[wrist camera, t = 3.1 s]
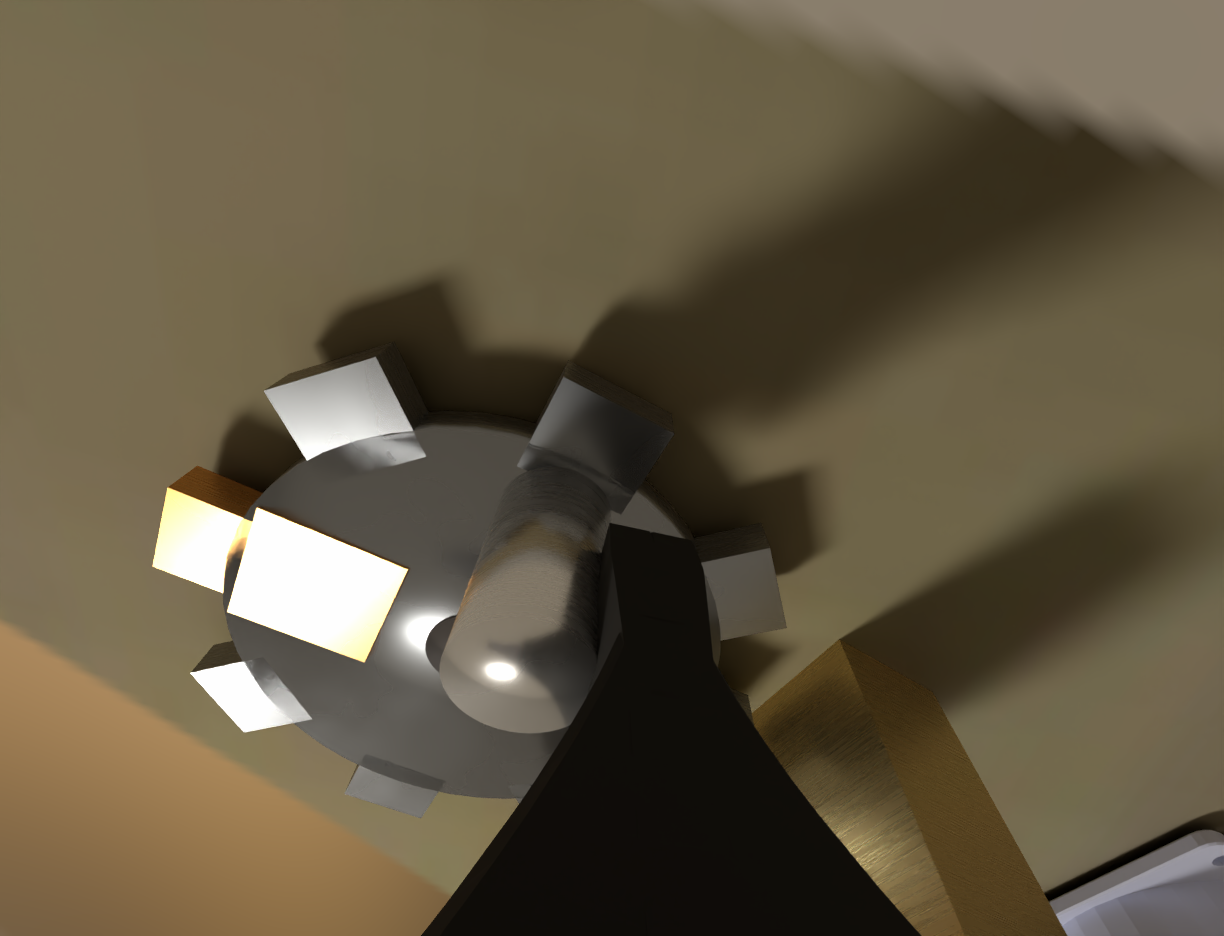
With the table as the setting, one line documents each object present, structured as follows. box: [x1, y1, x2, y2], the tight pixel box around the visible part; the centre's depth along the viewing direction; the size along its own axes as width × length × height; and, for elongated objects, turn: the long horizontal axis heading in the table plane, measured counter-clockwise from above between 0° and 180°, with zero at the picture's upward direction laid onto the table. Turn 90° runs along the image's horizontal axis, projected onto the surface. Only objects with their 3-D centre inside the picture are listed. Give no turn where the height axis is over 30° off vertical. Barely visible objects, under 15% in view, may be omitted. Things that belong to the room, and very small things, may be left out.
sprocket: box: [153, 342, 787, 818], centre depth 11 cm, size 12×12×4 cm
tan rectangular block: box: [752, 639, 1067, 936], centre depth 12 cm, size 3×4×6 cm, turn 147°
